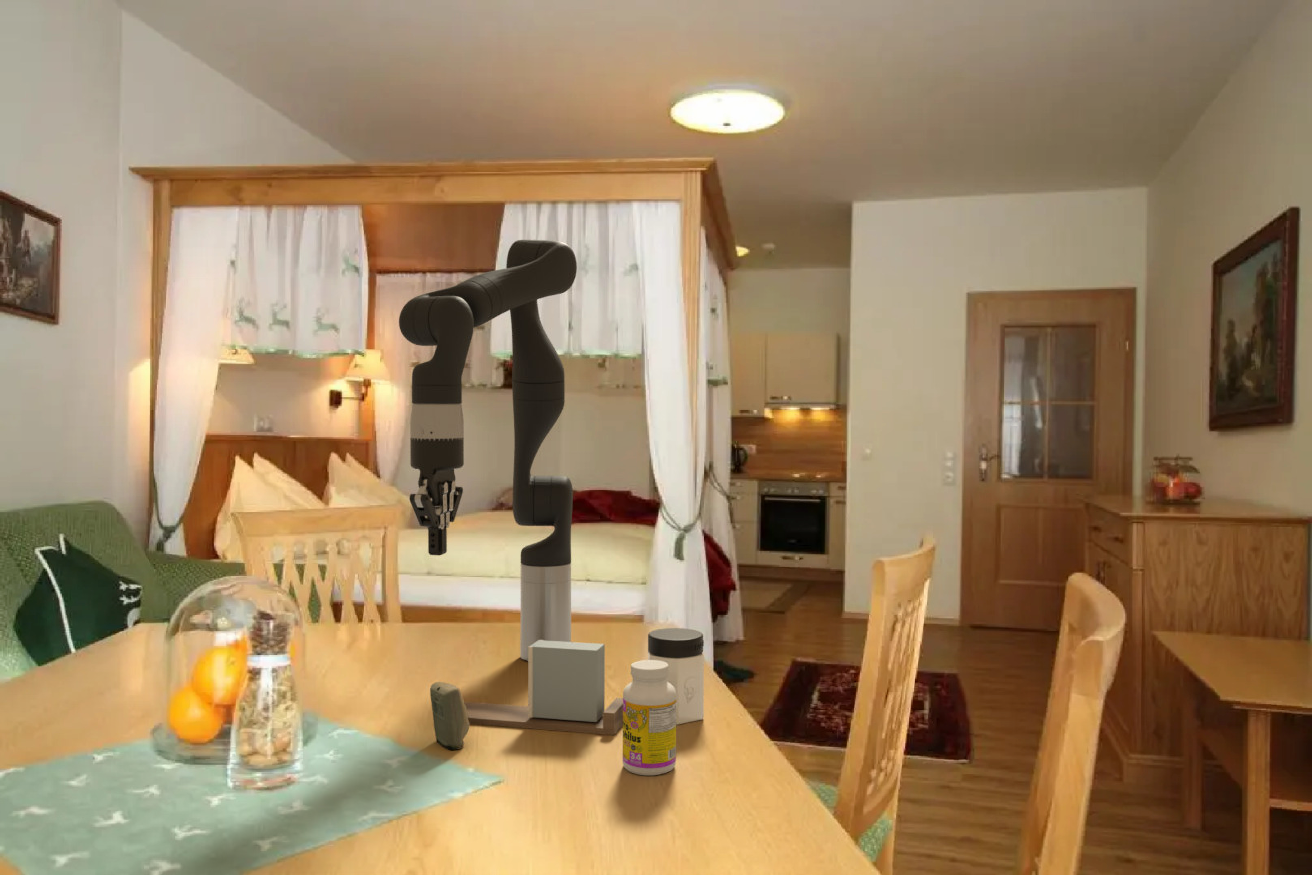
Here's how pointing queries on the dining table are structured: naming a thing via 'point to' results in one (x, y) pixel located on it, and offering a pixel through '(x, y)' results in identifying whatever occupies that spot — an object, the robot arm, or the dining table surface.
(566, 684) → the grey square block
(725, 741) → the dining table surface
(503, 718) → the rail
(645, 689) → the supplement bottle
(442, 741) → the beige rounded block
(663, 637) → the jar
